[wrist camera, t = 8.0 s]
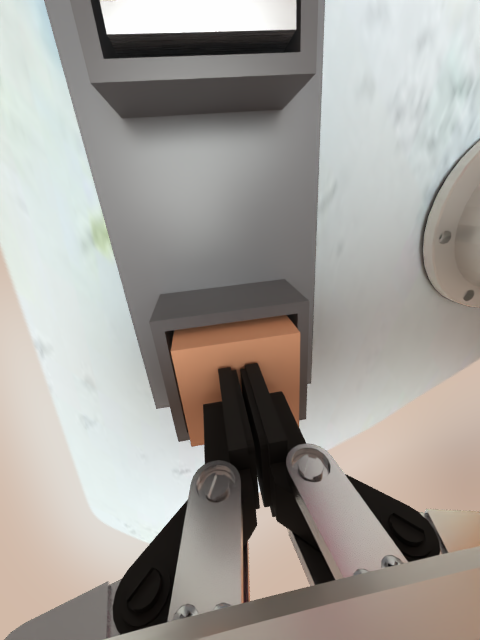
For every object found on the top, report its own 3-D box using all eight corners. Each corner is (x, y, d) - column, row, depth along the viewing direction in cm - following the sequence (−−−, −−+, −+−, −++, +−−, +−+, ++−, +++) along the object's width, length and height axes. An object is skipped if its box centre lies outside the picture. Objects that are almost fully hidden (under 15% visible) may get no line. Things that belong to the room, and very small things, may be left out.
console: (291, 352, 21) (336, 423, 14) (163, 371, 20) (147, 457, 13) (291, -65, 12) (412, -409, 5) (57, -67, 11) (-166, -498, 4)
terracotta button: (280, 387, 15) (298, 427, 12) (192, 401, 15) (191, 446, 12) (278, 305, 13) (300, 332, 10) (176, 318, 13) (170, 351, 10)
